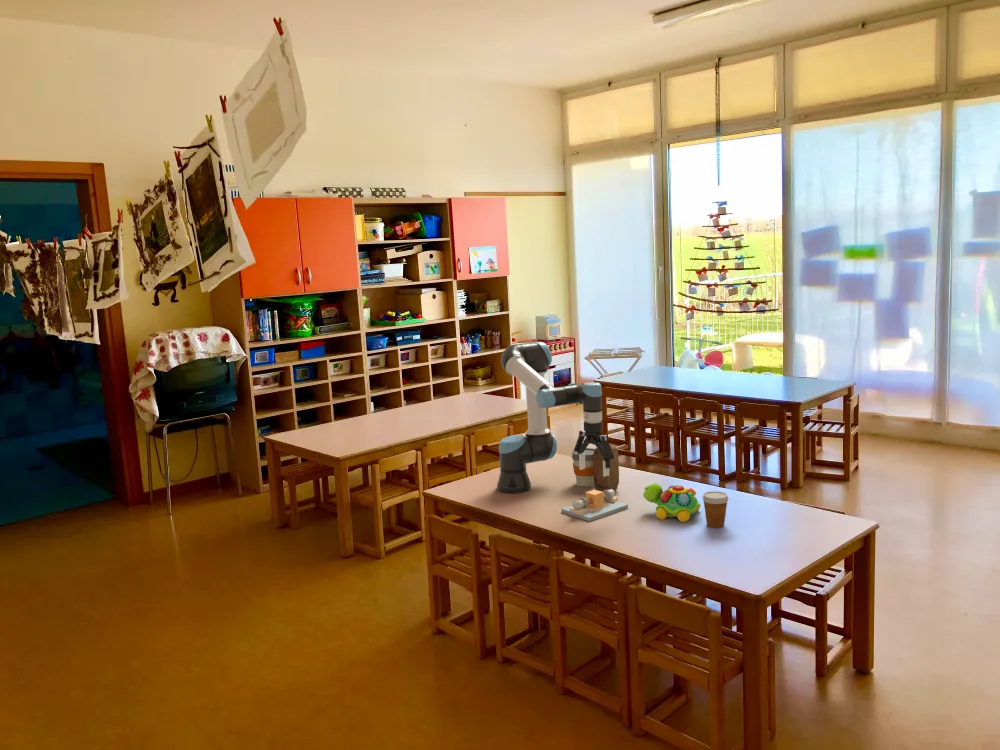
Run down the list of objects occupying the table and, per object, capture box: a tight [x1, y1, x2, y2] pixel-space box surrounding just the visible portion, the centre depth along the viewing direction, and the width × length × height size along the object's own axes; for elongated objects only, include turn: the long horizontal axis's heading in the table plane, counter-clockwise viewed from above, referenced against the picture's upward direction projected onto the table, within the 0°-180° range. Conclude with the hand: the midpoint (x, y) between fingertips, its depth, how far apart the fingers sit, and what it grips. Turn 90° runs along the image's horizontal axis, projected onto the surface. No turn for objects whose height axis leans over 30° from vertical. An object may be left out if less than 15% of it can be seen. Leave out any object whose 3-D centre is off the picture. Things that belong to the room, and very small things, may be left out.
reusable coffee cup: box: [571, 447, 595, 488], centre depth 359 cm, size 13×13×15 cm
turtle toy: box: [642, 482, 701, 523], centre depth 314 cm, size 17×23×12 cm
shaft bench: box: [561, 489, 629, 522], centre depth 324 cm, size 16×23×7 cm
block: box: [593, 444, 620, 492], centre depth 347 cm, size 11×8×20 cm
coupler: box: [585, 489, 606, 509], centre depth 323 cm, size 5×10×6 cm, turn 129°
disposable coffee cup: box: [702, 490, 730, 529], centre depth 300 cm, size 10×10×12 cm
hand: (594, 472), depth 322 cm, fingers open, 13 cm apart
